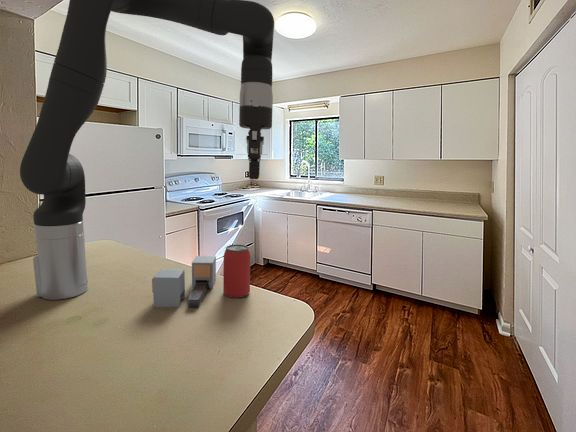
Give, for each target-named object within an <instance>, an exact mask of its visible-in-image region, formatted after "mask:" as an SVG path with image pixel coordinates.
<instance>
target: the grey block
mask: <svg viewBox="0 0 576 432" xmlns="http://www.w3.org/2000/svg"><path fill="white" fill-rule="evenodd" d="M185 271H186V270H185V269H177V268H176V269H172V268H171V269H169V268H168V269H167V268H166V269H164V268H163V269H161V268H160V269H159V270H158V271H157V272H156V273H155V274H154V275H153V277H152V278H151V290H152V291H151V292H152V296H153V308H180V307H181V300H184V299H185V298H186V289H185V287H186V286H185V285H186V283H185V280H186V279H185V277H186V276H185Z"/></svg>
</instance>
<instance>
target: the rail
mask: <svg viewBox="0 0 576 432" xmlns="http://www.w3.org/2000/svg"><path fill="white" fill-rule="evenodd" d="M208 289H209V280H198V281H197V283H196V285H195V287H194V289H192V291H191V292H190V295H189V296H188V299H187V308H188V309H192V308H193V309H195V308H196V309H200V306H201V303H202V302H203V299H204V296H205V294H206V292H207V290H208Z"/></svg>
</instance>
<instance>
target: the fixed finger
mask: <svg viewBox="0 0 576 432" xmlns="http://www.w3.org/2000/svg"><path fill="white" fill-rule="evenodd" d="M216 257H217V256H216V255H196V256H195V257H194V259H193V260H192V261H191V288H192V290H193V289H194V287H195V285H196V283H197V281H198V280H209V286H208V289H209V290H210V289H214V286H215V284H216V281H217V258H216Z"/></svg>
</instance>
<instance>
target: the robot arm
mask: <svg viewBox="0 0 576 432" xmlns="http://www.w3.org/2000/svg"><path fill="white" fill-rule="evenodd" d="M111 12H112V13H117V14H121V15H123V14H124V15H130V16H131V15H132V16H140V17H148V18H153V19H159V20H165V21H168V22H169V21H170V22H174V23H177V24H181V25H185V26H188V27H191V28H195V29H197V30H201V31H203V32H206V33H210V34H215V35H217V36H226V35H228V34H234V35H238V36H242V54H243V55H242V56H243V57H242V58H243V59H242V61H241V67H240V68H241V69H240V89H239V110H238V111H239V114H238V115H239V116H238V117H239V120H238V123H239V127H240V128H242V129H249V130H248V135H246V139H245V140H246V154H247V157H248V158H247V160H248V162H249V164H248V179H250V180H258V179H259V178H260V166H261V160H262V155H263V148H264V147H263V145H264V144H265V143H264V141H265V136H263V135H262V132H261V131H263V130H271V128H272V127H273V103H274V101H273V100H274V98H273V95H274V94H273V62H272V59H273V47H274V45H273V44H274V33H275V32H274V31H275V18H274V16H273V13H272V12H271V11H270V9H269V8H267V6H265V5H264V4H261V3H259V2H256V1H252V0H69V3H68V8H67V13H66V17H65V21H64V25H63V29H62V33H61V36H60V40H59V41H60V42H59V45H58V49H57V52H56V54H55V57H54V62H53V64H52V68H51V73H50V75H49V79H48V83H47V87H46V92H45V95H44V99H43V102H42V105H41V108H40V111H39V116H38V120H37V123H36V125H35V129H34V131H33V133H32V135H31V138H30V140H29V143H28V145H27V146H26V149H25V151H24V154H23V156H22V159H21V162H20V167H19V175H20V176H19V177H20V180H21V183H22V184H23V186H25V188H26V189H27V190H28V191H29V192H31V193H34V194H36V195H43V199H42V202H41V204H40V205H39V206H38V207H37V208H36V210H34V211H33V216H32V217H33V226H34V234H35V236H34V237H35V243H36V244H35V245H36V255H35V256H34V257H32V262H33V272H34V281H35V291H36V297H38V298H43V299H45V300H51V301H53V300H64V299H70V298H73V297H77V296H80V295H81V294H84V293H85V292H87V291H88V289H89V287H88V286H89V285H88V284H89V283H88V282H89V281H88V271H87V269H88V267H87V255H86V243H85V231H84V217H83V216H84V211H85V209H86V203H87V202H86V198H87V197H86V176H85V170H84V168H83V165H82V163H81V161H80V160H79V159H78V158H77V157H76V156H74V154H70V151H71V148H72V145H73V142H74V140H75V136H76V135H77V133H78V132H79V130H81V128H82V127H83V125H84V124H85V123H86V122H87V121H88V119H89V118H90V117H91V115H92V114H93V112H94V111H95V110H96V108H97V106H98V105H99V101H100V99H101V97H102V94H103V90H104V86H105V84H106V78H107V70H108V68H107V67H108V66H107V64H108V63H107V62H108V61H107V49H106V47H107V45H106V32H107V24H108V21H109V18H110V15H111Z"/></svg>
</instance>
